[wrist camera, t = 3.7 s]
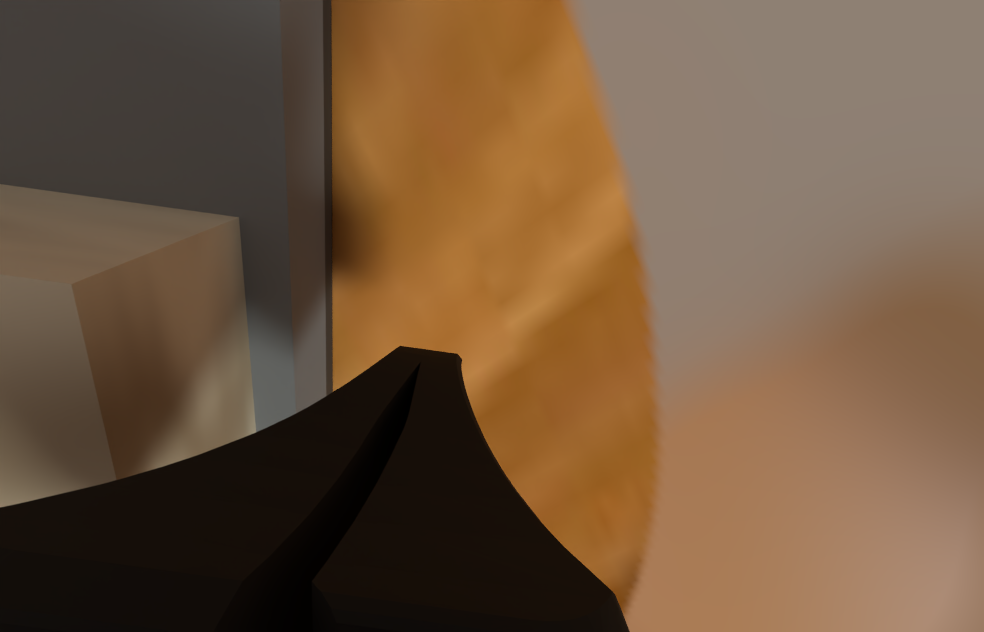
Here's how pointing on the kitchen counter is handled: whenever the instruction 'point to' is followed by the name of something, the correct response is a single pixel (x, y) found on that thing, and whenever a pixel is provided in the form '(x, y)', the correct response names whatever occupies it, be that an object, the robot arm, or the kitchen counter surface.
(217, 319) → the beech block
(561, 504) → the kitchen counter surface
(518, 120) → the kitchen counter surface
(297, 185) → the board
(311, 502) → the robot arm
